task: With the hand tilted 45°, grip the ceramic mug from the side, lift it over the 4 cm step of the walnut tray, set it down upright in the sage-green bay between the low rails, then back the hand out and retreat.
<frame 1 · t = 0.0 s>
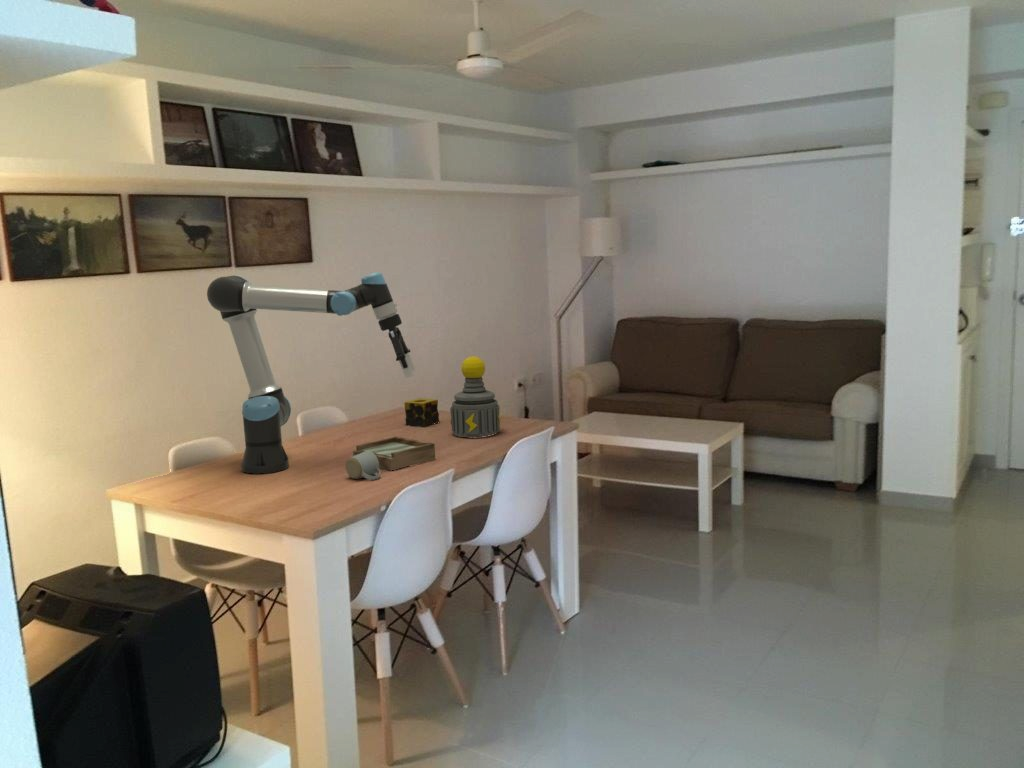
hand: (411, 374, 292), 28 cm above the table, tool tilted 20°, fingers open, 13 cm apart
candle: (422, 424, 347), on the table
ceramic mug: (366, 478, 265), on the table
decorative lamp: (476, 434, 324), on the table
walnut tray: (394, 460, 285), on the table
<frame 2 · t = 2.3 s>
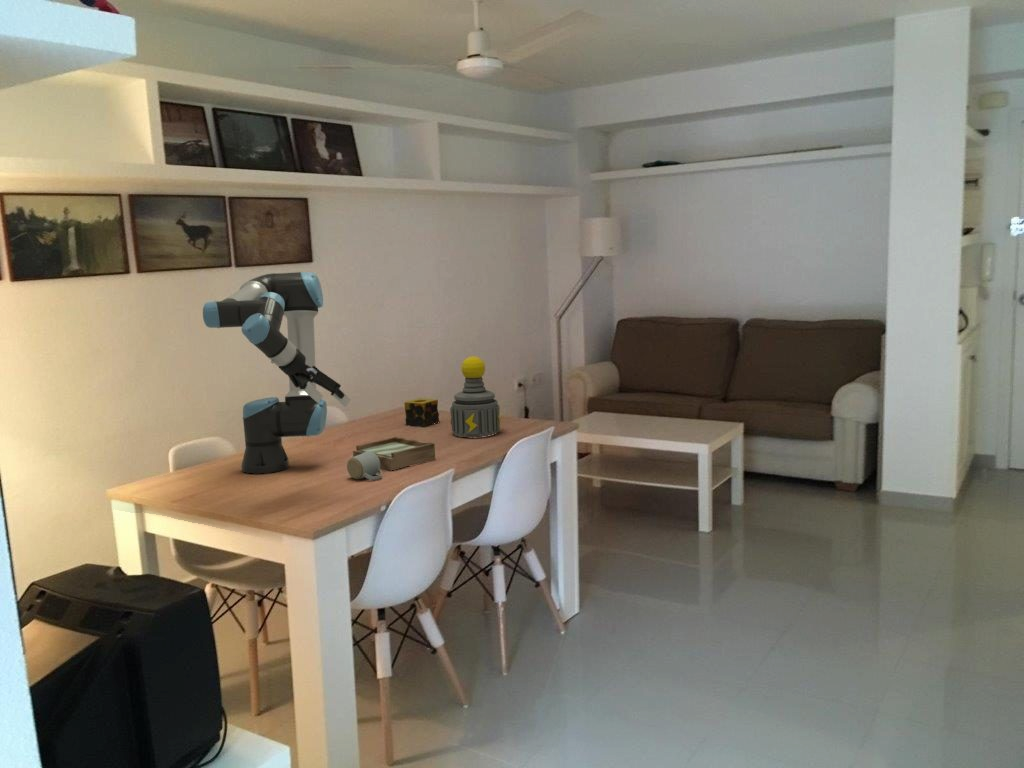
hand: (333, 401, 254), 26 cm above the table, tool tilted 45°, fingers open, 13 cm apart
nothing on the table moved.
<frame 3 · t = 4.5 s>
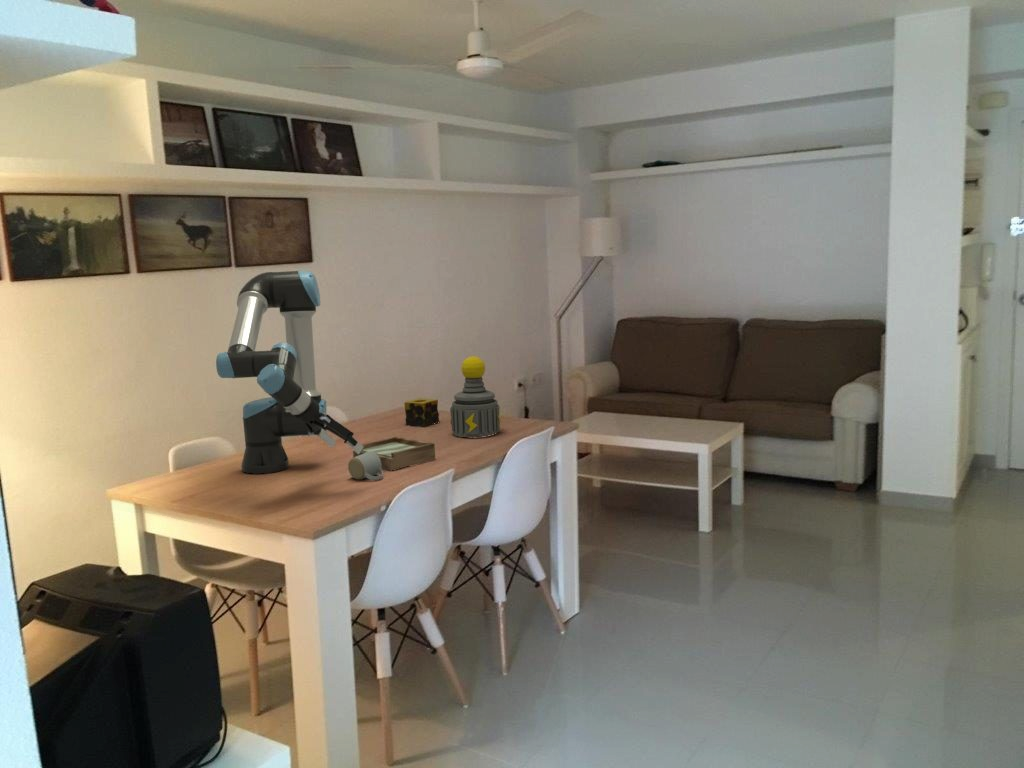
hand: (347, 447, 257), 11 cm above the table, tool tilted 45°, fingers open, 13 cm apart
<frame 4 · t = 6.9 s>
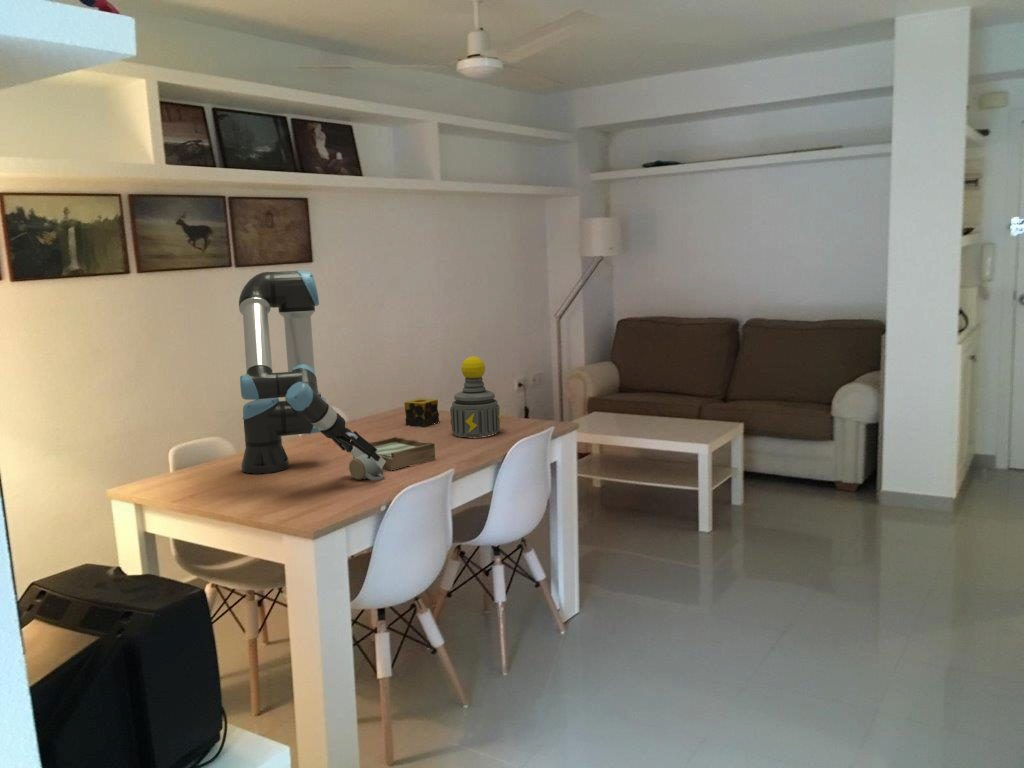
hand: (374, 462, 266), 4 cm above the table, tool tilted 45°, fingers open, 8 cm apart
ceramic mug: (369, 478, 264), on the table, touching gripper
everything else where it was.
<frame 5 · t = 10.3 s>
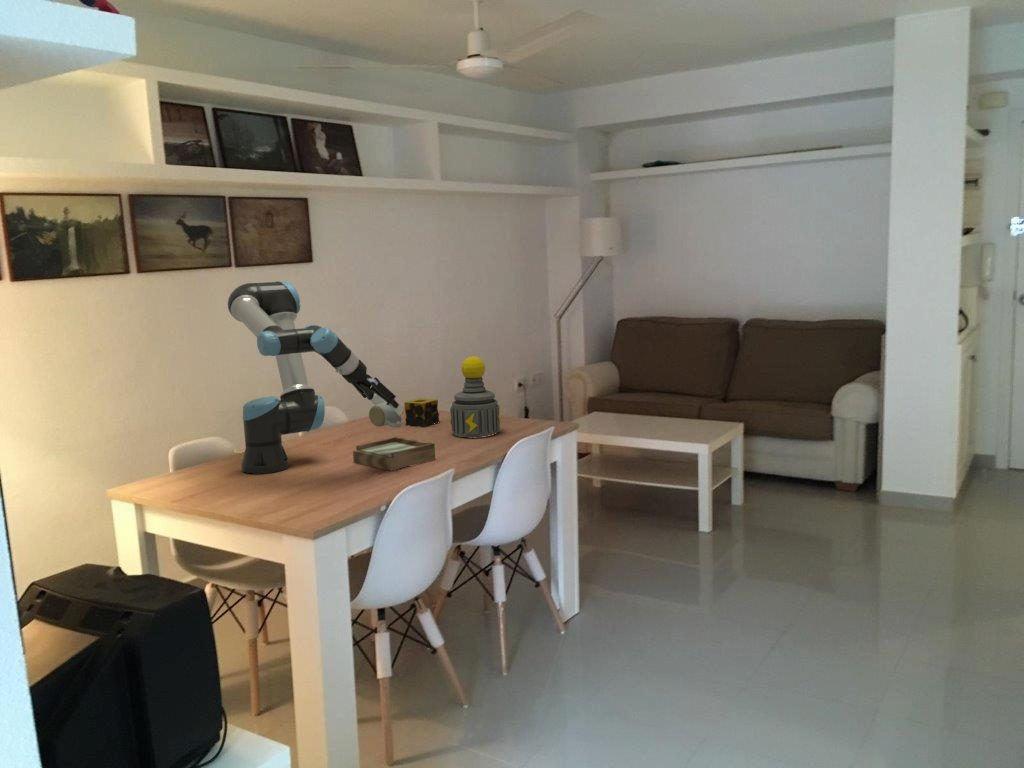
hand: (393, 410, 277), 18 cm above the table, tool tilted 45°, fingers closed on ceramic mug, 8 cm apart
ceramic mug: (388, 426, 274), point 14 cm above the table, touching gripper
everything else where it was.
when the fingers open (9 cm above the table, at t = 13.4 s): ceramic mug stays where it is, resting on walnut tray.
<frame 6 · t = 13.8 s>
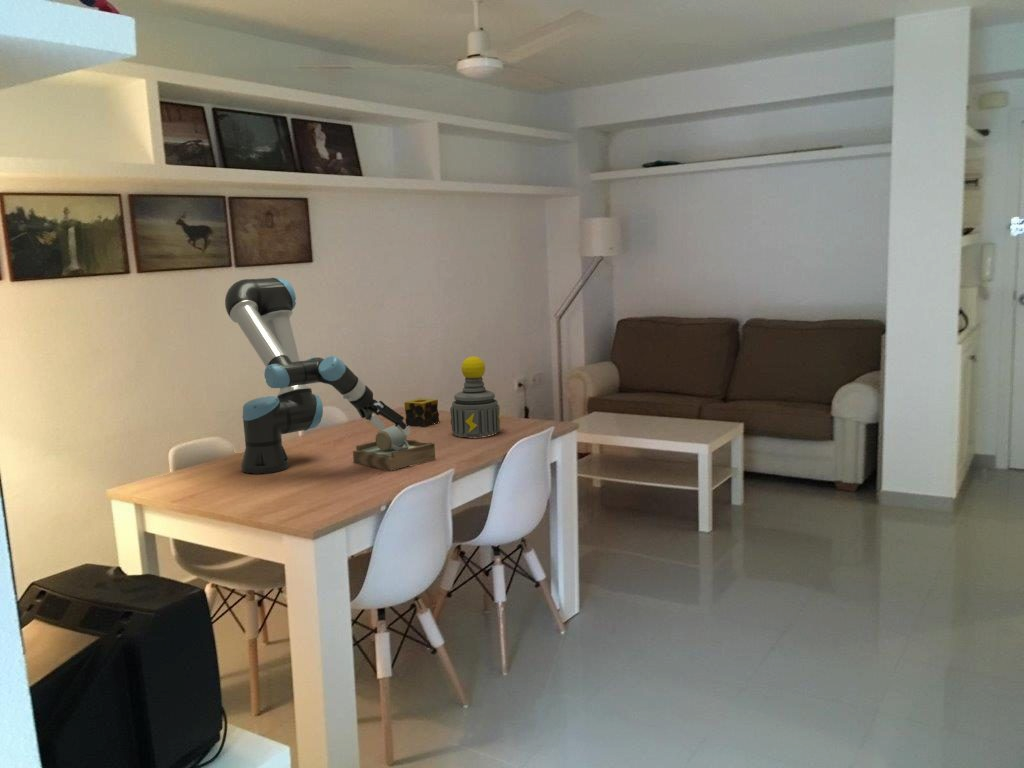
hand: (395, 430, 284), 10 cm above the table, tool tilted 45°, fingers open, 13 cm apart
ceramic mug: (394, 450, 283), point 4 cm above the table, touching walnut tray
everything else where it was.
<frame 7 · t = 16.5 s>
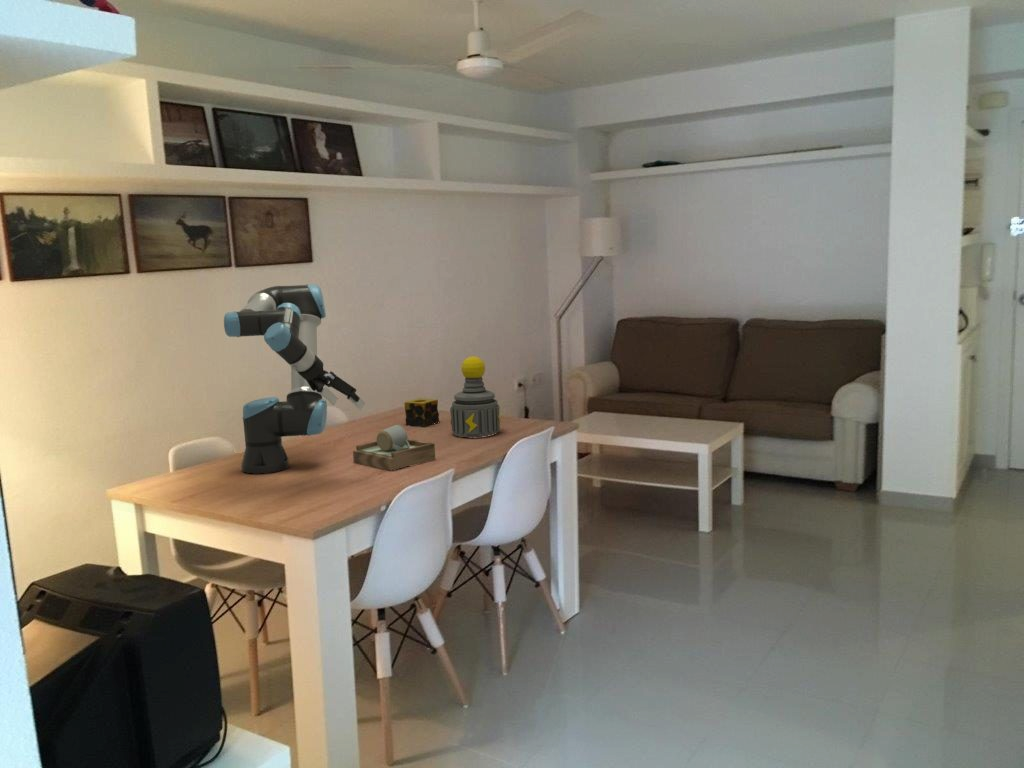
hand: (349, 404, 269), 22 cm above the table, tool tilted 45°, fingers open, 13 cm apart
nothing on the table moved.
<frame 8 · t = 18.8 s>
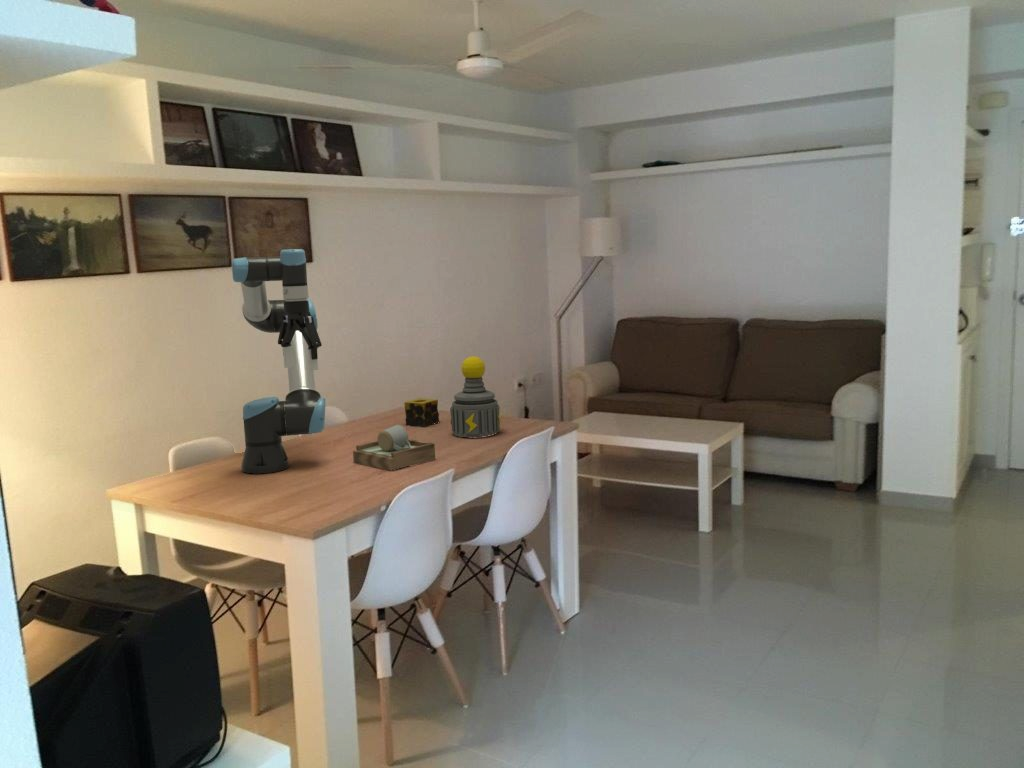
hand: (301, 368, 262), 35 cm above the table, tool pointing down, fingers open, 13 cm apart
nothing on the table moved.
at the end: ceramic mug inside the target area on the walnut tray (2.3 cm from its centre), point 4.1 cm above the walnut tray's base; ceramic mug tilted 1°; the gripper is holding nothing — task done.
